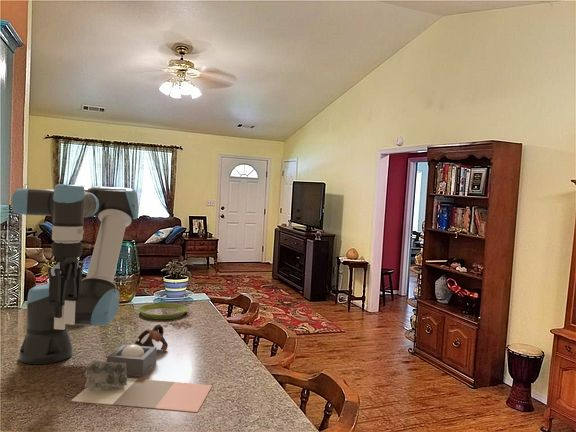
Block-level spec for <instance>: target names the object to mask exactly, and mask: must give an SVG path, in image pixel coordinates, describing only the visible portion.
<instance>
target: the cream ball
mask: <svg viewBox="0 0 576 432" xmlns="http://www.w3.org/2000/svg"><path fill="white" fill-rule="evenodd" d="M128 345H129V346H127V347H125V348H124V349H123V351H122V353H121V356H129V357H141V356H143V355H144V350H143V349H142V348H141V347H140V346H139V345H135V343H134V344H128Z"/></svg>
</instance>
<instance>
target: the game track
mask: <svg viewBox="0 0 576 432" xmlns="http://www.w3.org/2000/svg"><path fill="white" fill-rule="evenodd" d="M212 388H213V385H212V384H203V383H190V382H178V381H177V382H176V381H165V380H154V379H143V378H134V377H133V378H132V377H127V385H124V387H121V388H120V389H117V390H116V389H114V388H112V387H110V388H108V389H107V390H106V391H103V390H102V389H101V388H99V387H98V388H95V389H94V391H90V390H89V389H88V388H87V387H84V389H83V390H82V391H80V393H78V394H77V395H76V396H75V397H73V398H72V399H71V400H70V401H71V402H74V403H75V402H77V403H85V404H87V403H89V404H95V405H96V404H98V405H109V406H117V407H118V406H120V407H130V408H131V407H132V408H142V409H143V408H144V409H154V410H163V411H174V412H176V411H177V412H184V413H185V412H188V413H196V414H197V413H199V411H200V409H201V407H202V405H203V403H204V402H205V400H206V398H207V396H208V395H209V392H210V391H211V389H212Z"/></svg>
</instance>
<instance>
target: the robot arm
mask: <svg viewBox="0 0 576 432" xmlns="http://www.w3.org/2000/svg"><path fill="white" fill-rule="evenodd" d="M10 203H11V205H10V206H11V209H12V211H13V212H14V213H15V214H18V215H25V216H48V217H52V230H51V231H52V232H51V240H52V241H53V242H52V243H51V256H53V257H55V261H54V262H55V263H54V266H53V267H48V268H47V269H48V270H47V273H48V283H43V284H40V285H36V286H33V287H32V288H30V289H29V290H28V293H27V301H26V334H25V337H24V339H23V342H22V344H21V346H20V350H19V353H18V355H19V356H18V359H19V361H20V362H21V363H24V364H29V365H47V364H55V363H58V362H61V361H62V362H63V361H64V360H67V359H68V358H70V357H71V356H73V354H74V353H73V352H74V351H73V350H74V349H73V348H74V347H73V344H72V340H71V338H70V334H69V330H68V326H69V325H70V326H93V327H96V326H97V327H98V326H108V325H109V324H111V323H112V322H113V321H114V320H115V317H117V313H118V310H119V306H120V300H121V296H120V295H121V294H120V291H119V290H118V289H117V285H116V284H115V283H114V279H115V274H116V270H117V266H118V261H119V259H120V258H119V257H120V253H121V248H122V244H123V242H124V241H123V240H124V237H125V231H126V228H127V227H129V226H130V225H131V224H132V220H137V219H138V217H139V198H138V193H137V191H136V190H135V189H134V188H130V187H115V186H113V187H111V186H103V185H101V186H99V185H89V186H83V185H81V184H80V185H79V184H63V183H62V184H60V183H58V184H56V185H55V186H54V189H37V188H34V189H33V188H17V189H15V190H14V191H13V193H12V195H11V200H10ZM89 217H94V218H95V217H97V218H98V220H99V221H100V225H99V228H98V229H99V230H98V233H97V236H96V241H95V244H94V247H93V250H92V255H91V259H90V263H89V266H88V269H87V273H86V277H84V278H83V266H84V262H83V261H79V258H78V257H82V255H83V247H84V245H83V242H82V241H83V238H84V237H83V235H84V233H85V231H84V218H85V219H86V218H89Z"/></svg>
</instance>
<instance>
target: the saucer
mask: <svg viewBox="0 0 576 432" xmlns="http://www.w3.org/2000/svg"><path fill="white" fill-rule="evenodd" d="M155 309H172V310H173V309H174V310H178V311H181V312H179V313H178V312H177V313H171V314H156V313H155V314H154V313H148V312H147V311H150V310H155ZM138 311H139V313H140V315H141V316H142V317H144V318H147V319H151V320H152V319H153V320H172V319H176V318H179V317H182V316H184V314H185V313H186V312H187V311H188V308H187V307H186V306H184V305H181V304H178V303H171V302H170V303H169V302H168V303H165V302H164V303H163V302H161V303H160V302H159V303H149V304H145V305H141V306H139V308H138ZM146 312H147V313H146Z"/></svg>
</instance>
